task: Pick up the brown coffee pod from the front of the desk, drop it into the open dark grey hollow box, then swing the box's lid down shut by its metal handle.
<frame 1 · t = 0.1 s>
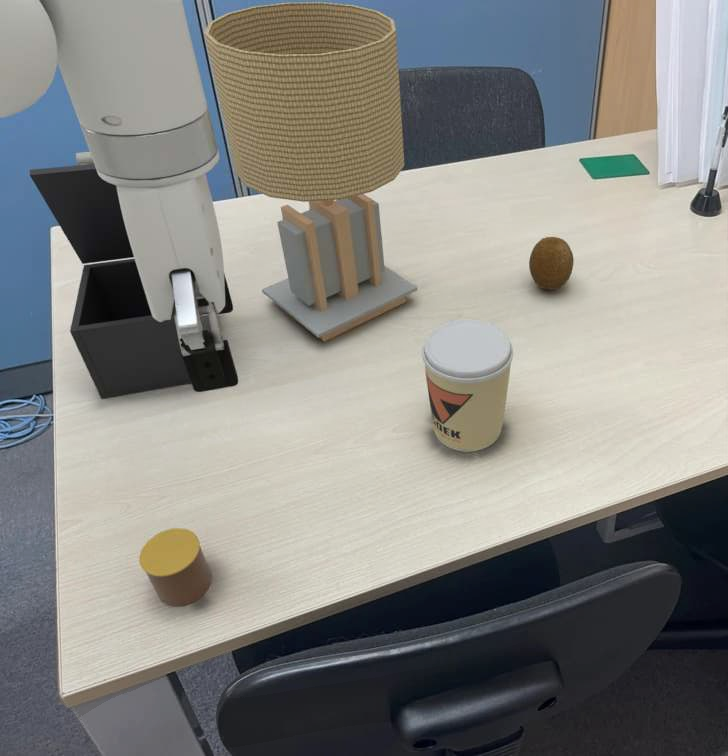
hand: (215, 347, 57), 21 cm above the table, tool pointing down, fingers open, 9 cm apart
pod: (184, 583, 64), on the table
dark grey hollow box: (161, 353, 88), on the table
coffee cup: (467, 428, 80), on the table
fruit: (549, 288, 102), on the table
lid: (119, 200, 81), point 18 cm above the table, hinge at 70.0°
desk lamp: (342, 303, 98), on the table
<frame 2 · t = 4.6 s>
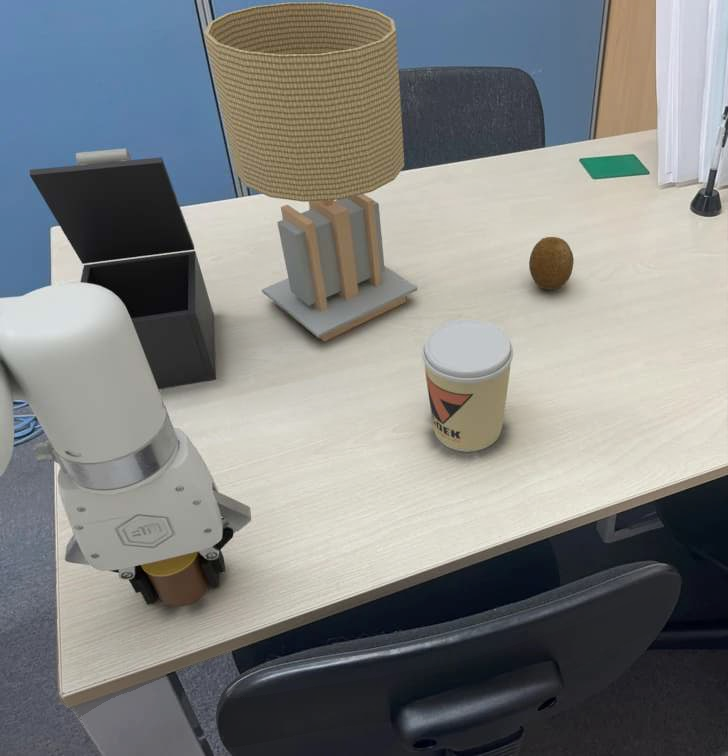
hand: (183, 581, 64), 0 cm above the table, tool pointing down, fingers closed on pod, 4 cm apart
pod: (185, 583, 64), on the table, touching gripper
everything else where it was.
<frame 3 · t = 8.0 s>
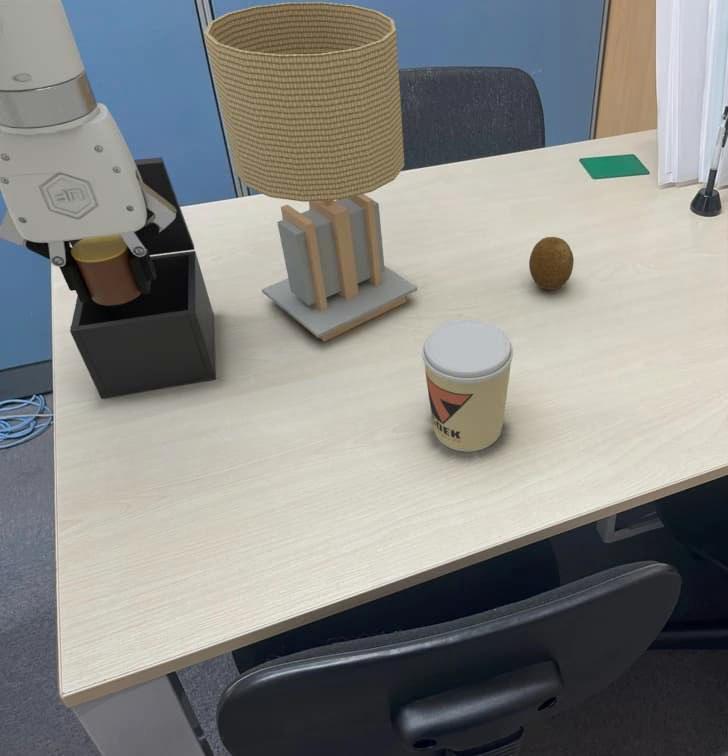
hand: (116, 288, 68), 18 cm above the table, tool pointing down, fingers closed on pod, 4 cm apart
pod: (117, 291, 68), point 17 cm above the table, touching gripper
everything else where it was.
when the fingers open (8 cm above the table, at t = 11.4 s): pod drops 7 cm, resting on dark grey hollow box.
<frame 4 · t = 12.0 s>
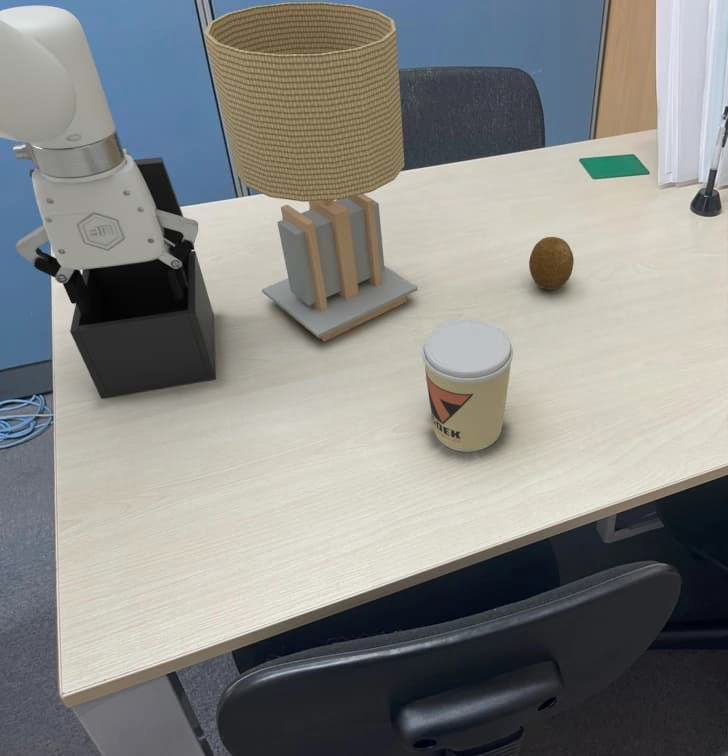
hand: (133, 299, 79), 10 cm above the table, tool pointing down, fingers open, 9 cm apart
pod: (158, 363, 86), point 1 cm above the table, touching dark grey hollow box
everything else where it was.
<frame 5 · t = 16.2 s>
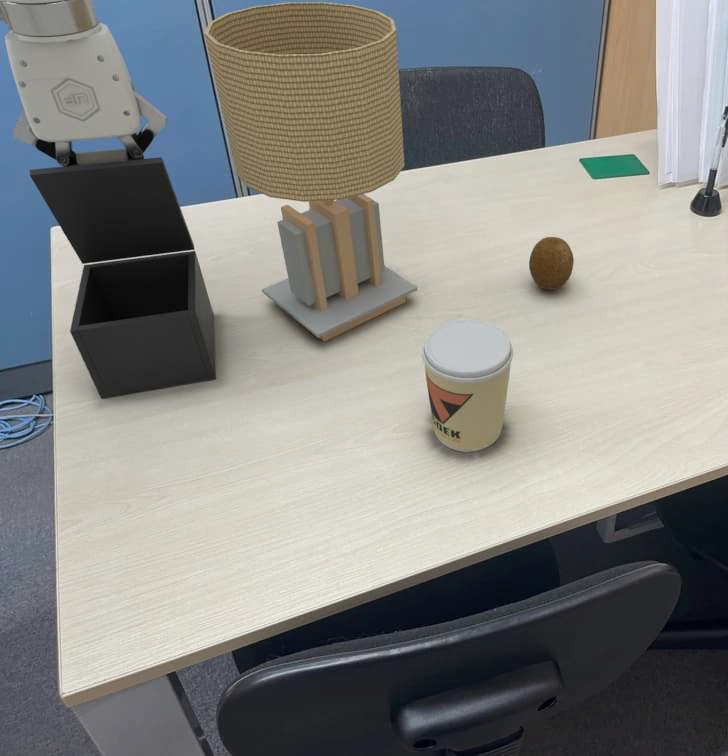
hand: (114, 189, 80), 19 cm above the table, tool pointing down, fingers closed on lid, 5 cm apart
lid: (119, 200, 81), point 18 cm above the table, hinge at 70.0°, touching gripper
everything else where it was.
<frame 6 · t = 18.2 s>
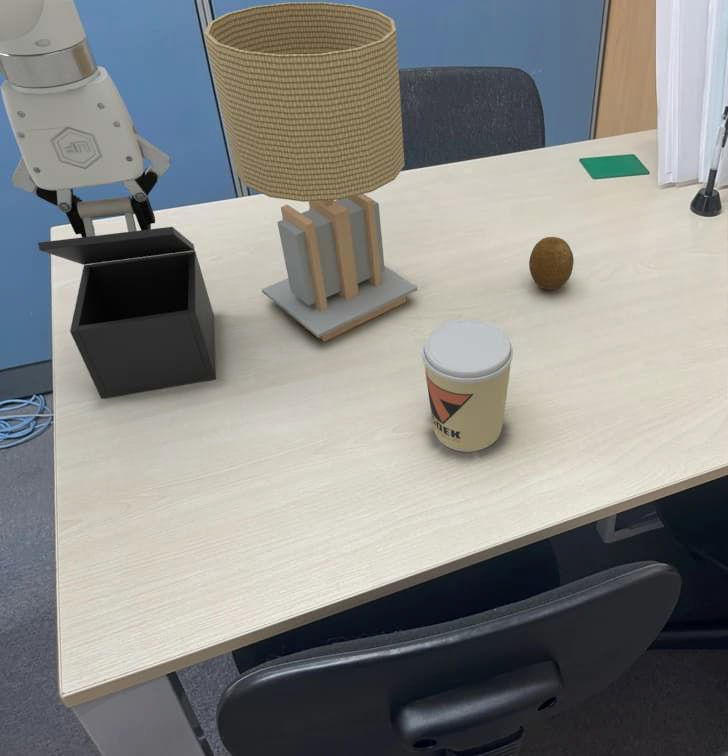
hand: (118, 231, 78), 17 cm above the table, tool pointing down, fingers closed on lid, 5 cm apart
lid: (120, 229, 79), point 16 cm above the table, hinge at 36.9°, touching gripper
everything else where it was.
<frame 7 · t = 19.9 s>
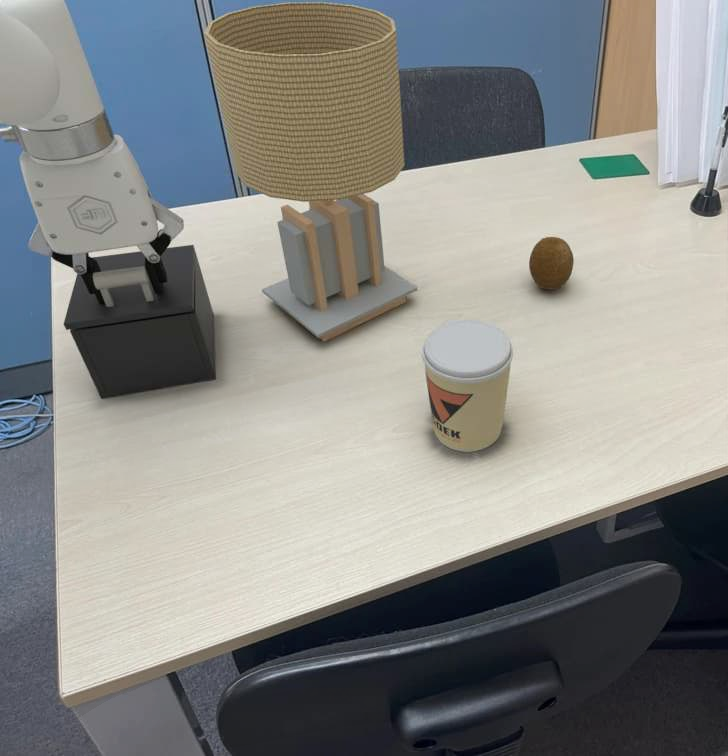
hand: (131, 290, 78), 11 cm above the table, tool pointing down, fingers closed on lid, 5 cm apart
lid: (129, 268, 80), point 13 cm above the table, hinge at 2.8°, touching gripper
everything else where it was.
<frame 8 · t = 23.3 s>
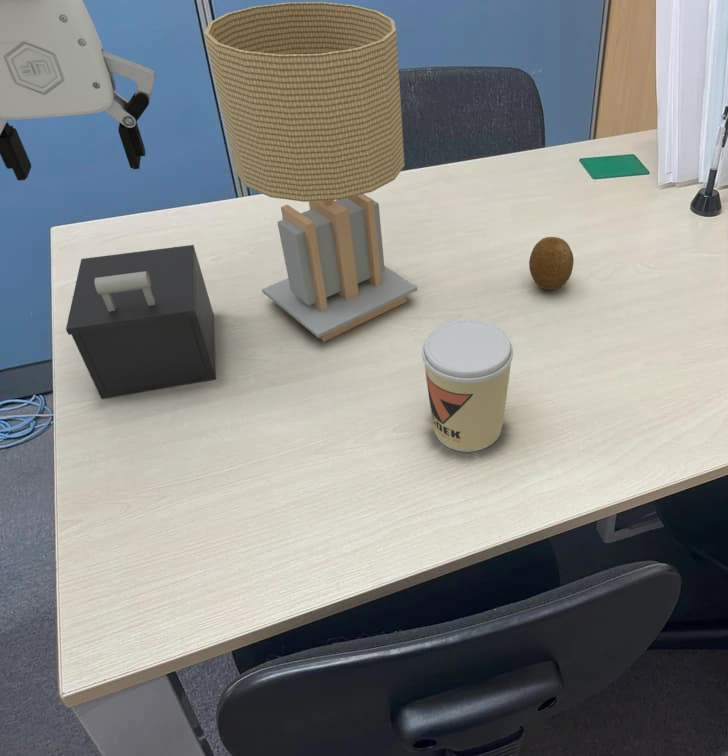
hand: (81, 168, 68), 26 cm above the table, tool pointing down, fingers open, 9 cm apart
lid: (130, 271, 80), point 12 cm above the table, hinge at 0.2°
everything else where it was.
at the end: pod inside the target area in the dark grey hollow box (3.0 cm from its centre), point 0.8 cm above the dark grey hollow box's base; lid at +0° (first picture: +70°) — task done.
